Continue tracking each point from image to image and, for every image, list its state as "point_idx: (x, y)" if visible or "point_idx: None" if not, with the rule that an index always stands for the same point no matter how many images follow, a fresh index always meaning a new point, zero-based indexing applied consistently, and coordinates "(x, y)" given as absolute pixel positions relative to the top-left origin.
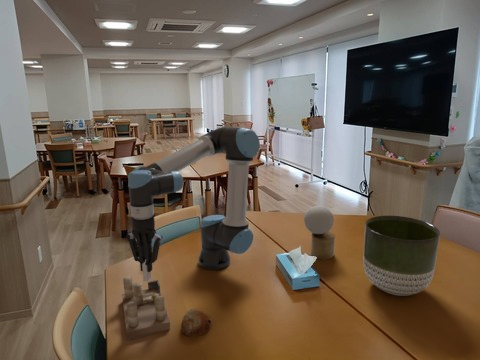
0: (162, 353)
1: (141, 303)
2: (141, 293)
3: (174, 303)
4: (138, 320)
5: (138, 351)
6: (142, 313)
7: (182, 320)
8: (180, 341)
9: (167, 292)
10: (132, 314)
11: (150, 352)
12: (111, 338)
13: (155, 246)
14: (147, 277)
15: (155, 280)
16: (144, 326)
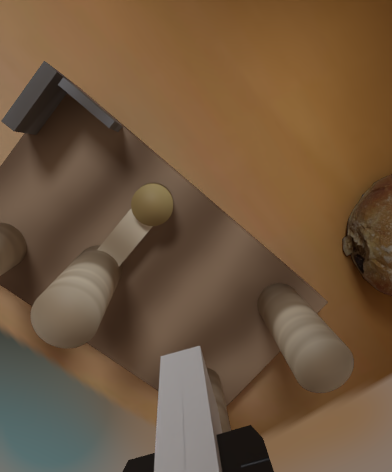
0: (355, 385)
1: (121, 274)
2: (111, 291)
3: (218, 128)
4: None
5: (277, 414)
6: (176, 314)
7: (389, 282)
8: (382, 317)
9: (114, 54)
10: None
11: (316, 399)
12: (145, 417)
13: None
14: (221, 429)
15: (35, 77)
16: (248, 370)
